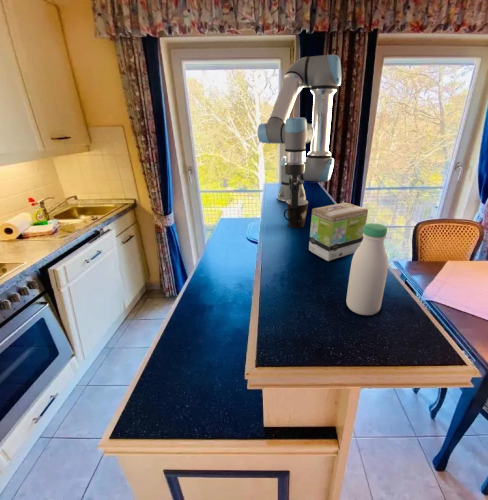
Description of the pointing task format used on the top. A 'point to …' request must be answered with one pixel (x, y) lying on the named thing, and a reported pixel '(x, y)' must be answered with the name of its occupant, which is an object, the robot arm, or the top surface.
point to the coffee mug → (300, 214)
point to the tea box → (336, 230)
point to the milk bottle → (368, 272)
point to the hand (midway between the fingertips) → (293, 221)
